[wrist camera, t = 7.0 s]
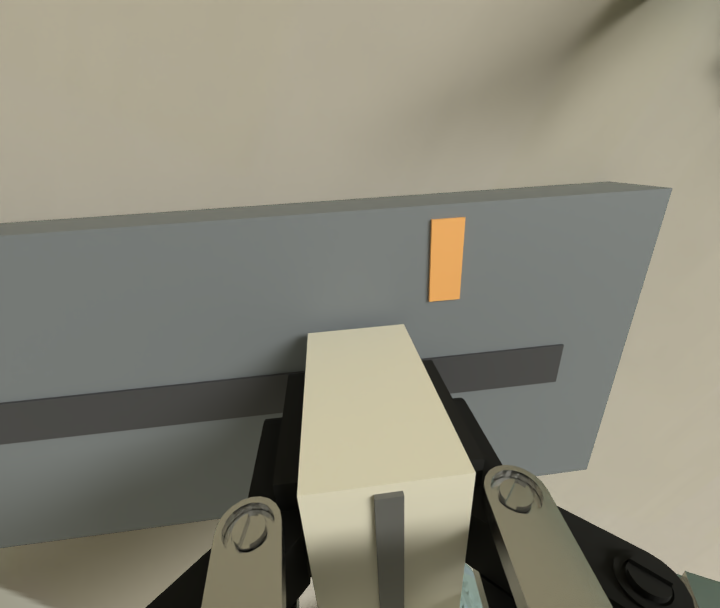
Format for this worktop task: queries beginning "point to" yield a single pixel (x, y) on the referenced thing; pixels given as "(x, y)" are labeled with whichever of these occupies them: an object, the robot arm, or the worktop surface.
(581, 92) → the worktop surface
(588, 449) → the fader console
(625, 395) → the worktop surface
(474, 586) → the teal embossed cup
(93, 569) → the worktop surface
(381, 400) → the fader tab
